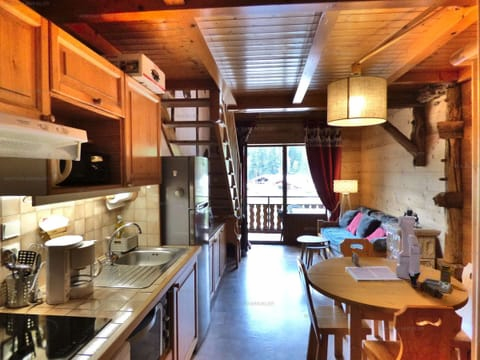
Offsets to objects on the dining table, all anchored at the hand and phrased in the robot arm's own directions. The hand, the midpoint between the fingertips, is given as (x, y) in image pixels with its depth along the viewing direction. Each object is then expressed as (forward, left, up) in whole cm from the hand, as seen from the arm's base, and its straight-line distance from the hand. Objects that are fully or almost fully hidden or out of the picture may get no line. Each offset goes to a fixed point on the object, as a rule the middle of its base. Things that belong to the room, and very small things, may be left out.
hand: (414, 284), depth 202 cm
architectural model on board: (-49, +27, -3) cm, 56 cm away
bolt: (+11, -6, -2) cm, 13 cm away
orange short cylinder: (0, 0, -2) cm, 2 cm away
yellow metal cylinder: (+14, +22, -2) cm, 26 cm away
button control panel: (+11, +9, -2) cm, 14 cm away
